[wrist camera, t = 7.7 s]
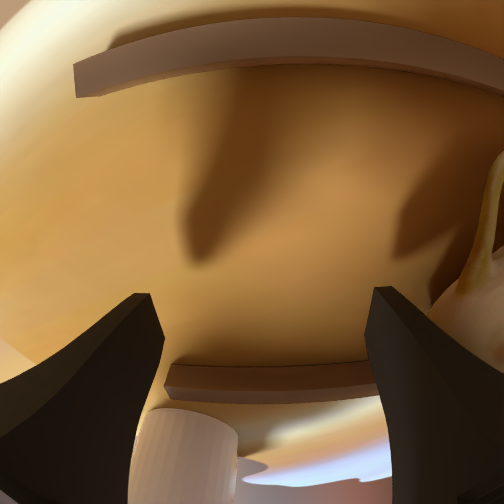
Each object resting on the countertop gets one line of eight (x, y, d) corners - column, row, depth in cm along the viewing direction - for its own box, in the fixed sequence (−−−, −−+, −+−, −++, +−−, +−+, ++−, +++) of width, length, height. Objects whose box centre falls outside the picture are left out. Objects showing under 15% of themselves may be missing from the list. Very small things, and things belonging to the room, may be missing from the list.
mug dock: (556, 325, 12) (565, 336, 11) (176, 377, 15) (170, 398, 14) (607, 133, 5) (621, 139, 4) (97, 66, 8) (73, 64, 6)
